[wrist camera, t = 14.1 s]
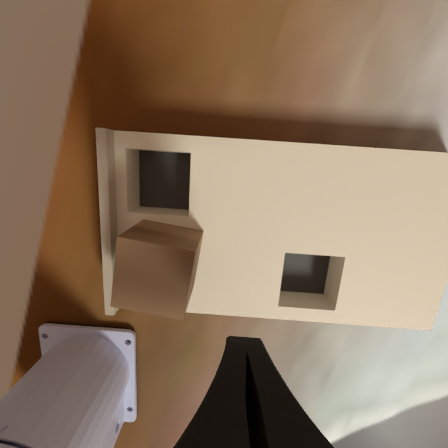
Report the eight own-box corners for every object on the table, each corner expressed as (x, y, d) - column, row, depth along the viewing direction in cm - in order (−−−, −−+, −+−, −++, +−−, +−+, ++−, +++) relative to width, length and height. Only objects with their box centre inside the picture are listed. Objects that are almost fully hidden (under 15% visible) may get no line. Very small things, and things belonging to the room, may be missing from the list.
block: (193, 285, 18) (183, 320, 14) (137, 274, 18) (110, 306, 14) (203, 230, 17) (195, 251, 13) (143, 219, 17) (116, 236, 13)
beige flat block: (407, 310, 20) (443, 340, 17) (125, 289, 21) (105, 314, 17) (449, 156, 18) (502, 154, 14) (121, 134, 18) (95, 127, 14)
